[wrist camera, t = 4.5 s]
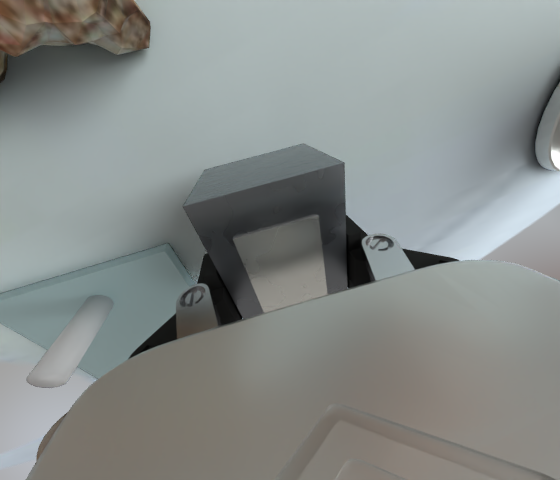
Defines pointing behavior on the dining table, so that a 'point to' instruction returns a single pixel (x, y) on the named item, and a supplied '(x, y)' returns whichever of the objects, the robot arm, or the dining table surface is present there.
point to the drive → (274, 227)
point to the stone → (71, 26)
